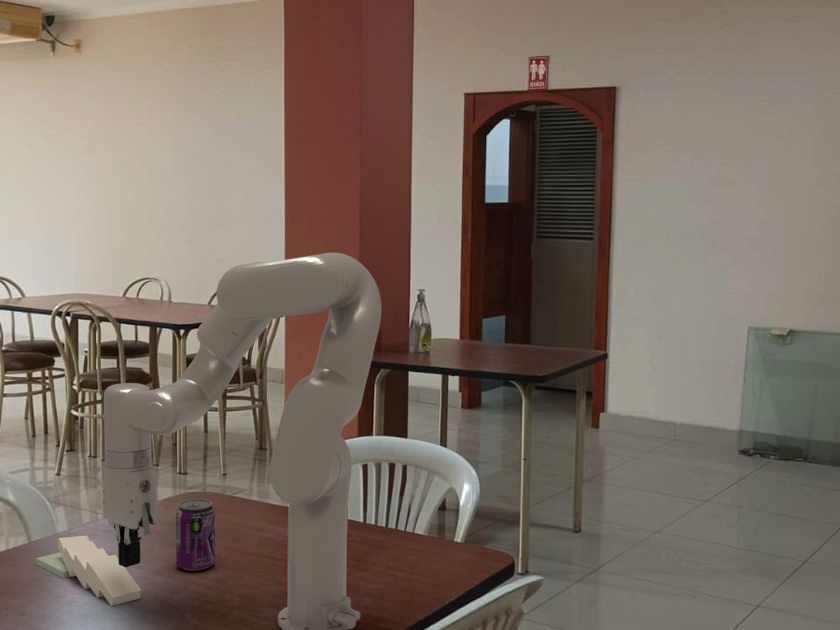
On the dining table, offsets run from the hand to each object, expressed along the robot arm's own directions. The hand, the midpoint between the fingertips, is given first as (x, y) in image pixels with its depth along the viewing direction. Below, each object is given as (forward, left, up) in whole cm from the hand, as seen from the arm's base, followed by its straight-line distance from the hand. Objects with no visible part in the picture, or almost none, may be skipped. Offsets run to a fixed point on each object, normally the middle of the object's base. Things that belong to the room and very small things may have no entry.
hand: (129, 564), depth 173 cm
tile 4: (+15, -1, -5) cm, 16 cm away
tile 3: (+10, 0, -6) cm, 11 cm away
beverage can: (+6, -18, -7) cm, 20 cm away
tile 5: (+18, -1, -6) cm, 19 cm away
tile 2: (+5, 0, -6) cm, 8 cm away
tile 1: (0, +1, -6) cm, 6 cm away
